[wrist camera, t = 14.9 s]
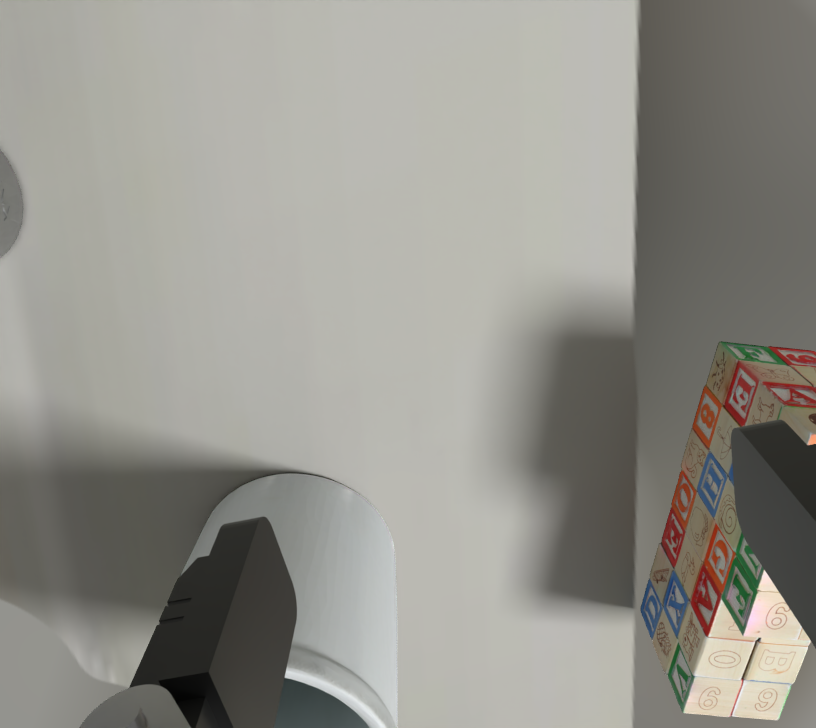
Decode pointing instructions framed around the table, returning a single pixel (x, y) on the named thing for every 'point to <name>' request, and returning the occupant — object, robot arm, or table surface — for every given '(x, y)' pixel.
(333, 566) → the utensil holder
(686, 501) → the stack of blocks
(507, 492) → the table surface
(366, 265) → the table surface
